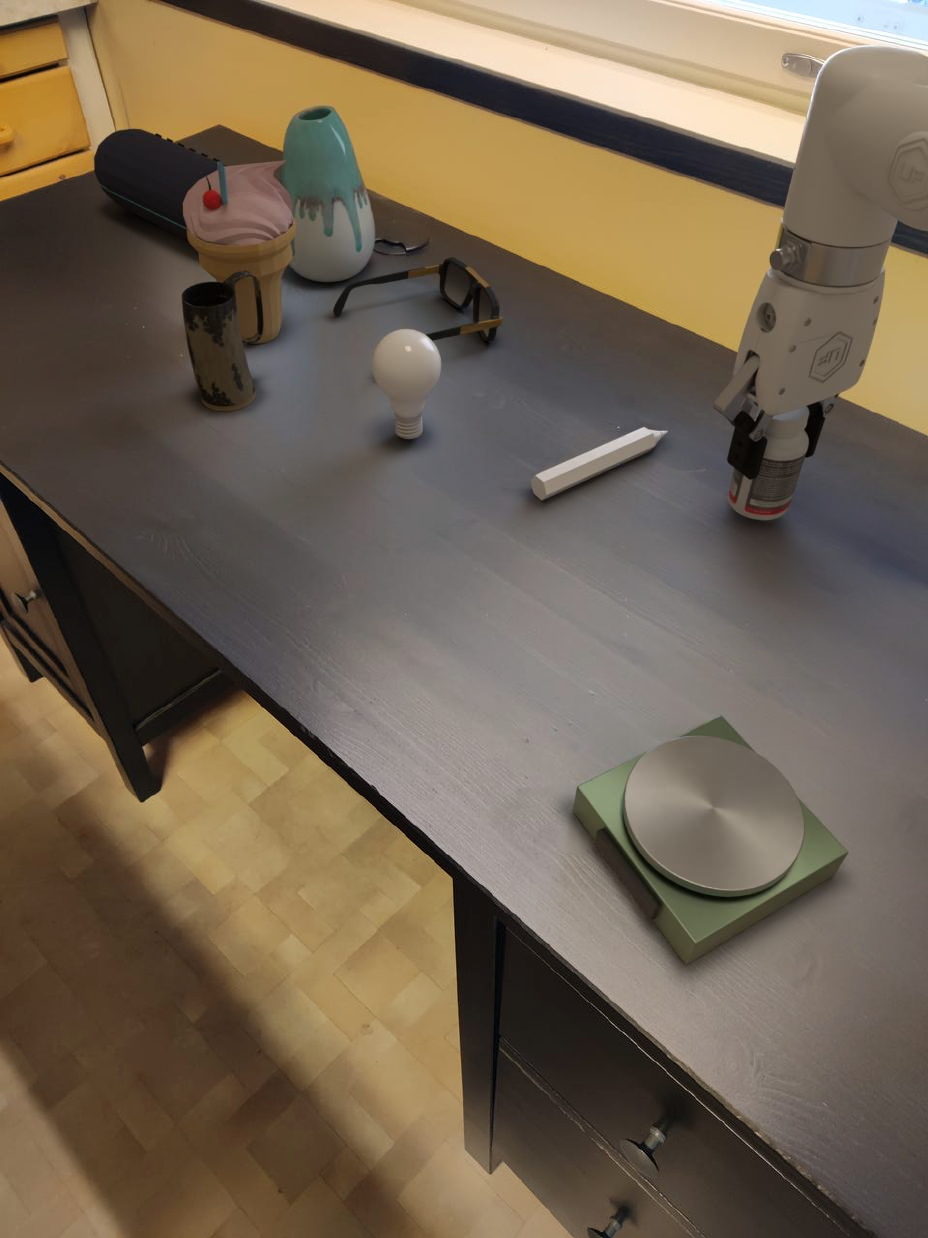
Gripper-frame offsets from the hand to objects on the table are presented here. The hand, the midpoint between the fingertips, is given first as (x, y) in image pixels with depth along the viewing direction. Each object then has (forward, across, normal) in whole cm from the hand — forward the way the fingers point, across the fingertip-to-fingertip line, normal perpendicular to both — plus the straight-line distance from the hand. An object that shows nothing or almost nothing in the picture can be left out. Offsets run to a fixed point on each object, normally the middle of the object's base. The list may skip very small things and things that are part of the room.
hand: (770, 457), depth 79 cm
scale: (+6, -26, -24) cm, 35 cm away
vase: (+5, -15, +60) cm, 62 cm away
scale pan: (+3, -26, -24) cm, 35 cm away
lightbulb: (+5, -22, +25) cm, 34 cm away
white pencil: (+6, -8, +12) cm, 15 cm away
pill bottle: (+5, 0, 0) cm, 5 cm away
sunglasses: (+5, -12, +42) cm, 44 cm away
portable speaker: (+4, -27, +79) cm, 83 cm away
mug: (+5, -34, +40) cm, 53 cm away
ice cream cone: (+5, -28, +50) cm, 57 cm away
